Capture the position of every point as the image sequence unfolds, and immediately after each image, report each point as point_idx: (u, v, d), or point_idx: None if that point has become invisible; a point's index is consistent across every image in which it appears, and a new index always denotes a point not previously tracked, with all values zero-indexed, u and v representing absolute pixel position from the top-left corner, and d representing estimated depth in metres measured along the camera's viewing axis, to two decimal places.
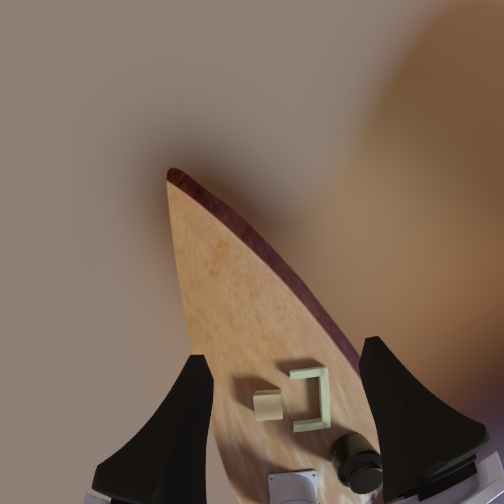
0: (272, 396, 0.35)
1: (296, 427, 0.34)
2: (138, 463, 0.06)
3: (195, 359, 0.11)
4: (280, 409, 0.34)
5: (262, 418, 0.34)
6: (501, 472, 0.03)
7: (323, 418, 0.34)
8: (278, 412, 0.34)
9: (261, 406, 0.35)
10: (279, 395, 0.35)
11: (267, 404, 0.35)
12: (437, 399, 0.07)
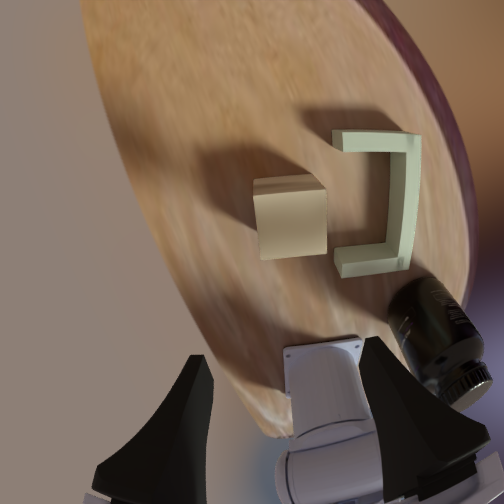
0: (303, 196, 0.15)
1: (348, 267, 0.18)
2: (138, 463, 0.06)
3: (195, 359, 0.11)
4: (322, 229, 0.15)
5: (278, 253, 0.16)
6: (501, 472, 0.03)
7: (400, 249, 0.18)
8: (317, 237, 0.16)
9: (275, 224, 0.15)
10: (322, 193, 0.14)
11: (290, 218, 0.15)
12: (437, 399, 0.07)
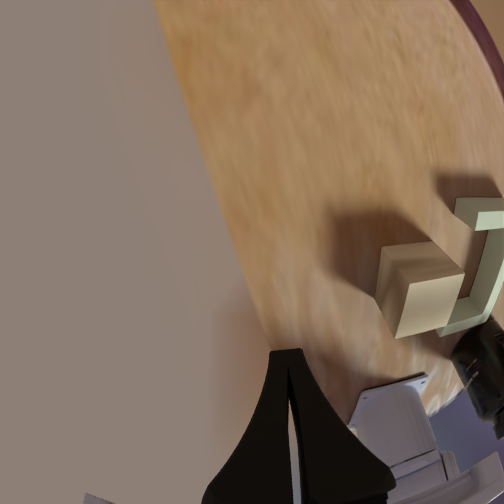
0: (448, 280, 0.12)
1: (447, 328, 0.16)
2: (258, 474, 0.05)
3: (279, 355, 0.11)
4: (450, 307, 0.13)
5: (411, 331, 0.14)
6: (501, 472, 0.03)
7: (486, 307, 0.15)
8: (445, 314, 0.13)
9: (419, 307, 0.13)
10: (461, 276, 0.12)
11: (431, 301, 0.12)
12: (342, 426, 0.07)
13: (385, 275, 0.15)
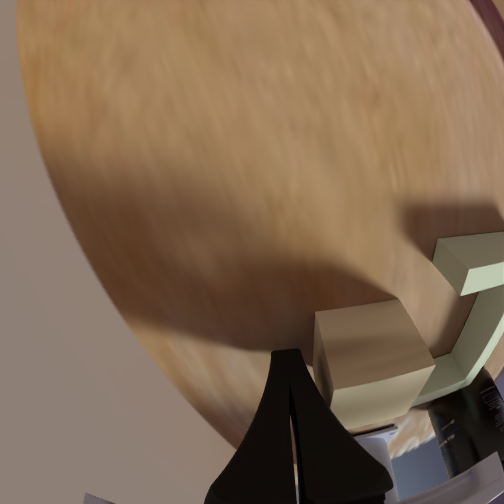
0: (405, 378, 0.08)
1: None
2: (260, 474, 0.05)
3: (281, 355, 0.11)
4: (411, 399, 0.09)
5: (348, 426, 0.10)
6: (501, 472, 0.03)
7: (470, 373, 0.11)
8: (402, 406, 0.09)
9: (356, 407, 0.09)
10: (429, 369, 0.08)
11: (377, 400, 0.08)
12: (339, 426, 0.07)
13: (318, 352, 0.11)
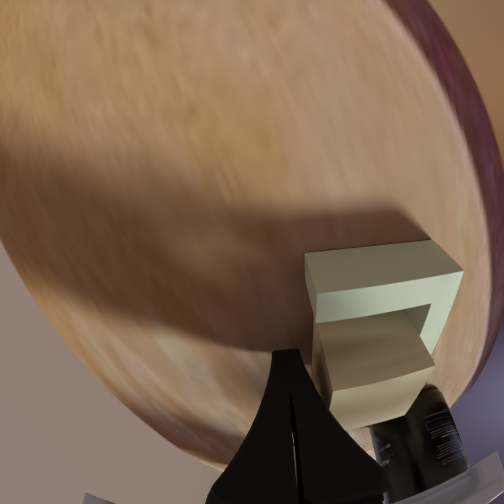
0: (404, 379, 0.08)
1: None
2: (262, 473, 0.05)
3: (282, 355, 0.11)
4: (410, 400, 0.09)
5: (347, 427, 0.09)
6: (501, 472, 0.03)
7: None
8: (401, 407, 0.09)
9: (355, 408, 0.09)
10: (428, 370, 0.08)
11: (376, 401, 0.08)
12: (338, 427, 0.07)
13: (317, 352, 0.11)
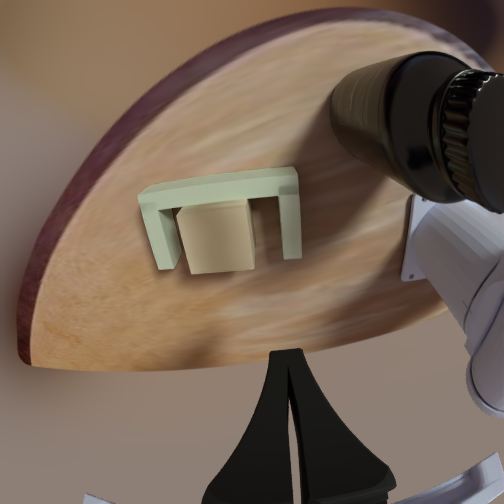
0: (185, 235, 0.16)
1: (289, 253, 0.18)
2: (258, 473, 0.05)
3: (279, 355, 0.11)
4: (217, 214, 0.15)
5: (246, 254, 0.16)
6: (501, 472, 0.03)
7: (268, 194, 0.16)
8: (226, 219, 0.15)
9: (215, 257, 0.16)
10: (180, 219, 0.15)
11: (208, 245, 0.16)
12: (342, 426, 0.07)
13: None
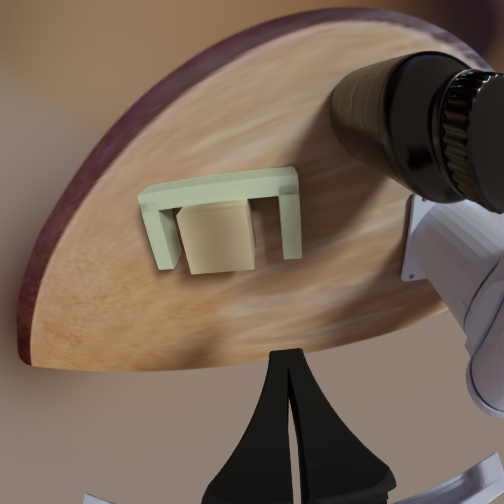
0: (185, 235, 0.16)
1: (289, 253, 0.18)
2: (257, 474, 0.05)
3: (279, 355, 0.11)
4: (217, 214, 0.15)
5: (246, 254, 0.16)
6: (501, 472, 0.03)
7: (268, 194, 0.16)
8: (226, 219, 0.15)
9: (215, 257, 0.16)
10: (180, 219, 0.15)
11: (208, 245, 0.16)
12: (342, 426, 0.07)
13: None
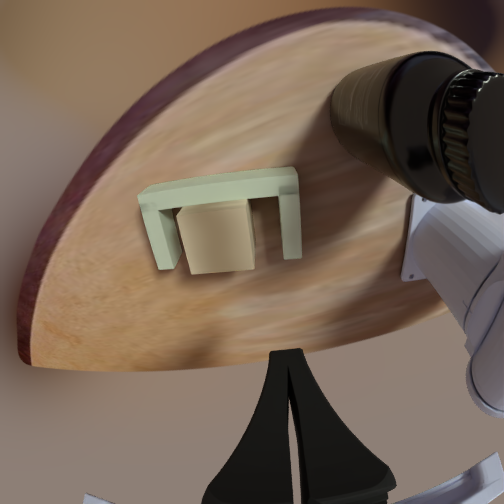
0: (185, 235, 0.16)
1: (289, 253, 0.18)
2: (257, 474, 0.05)
3: (279, 355, 0.11)
4: (218, 214, 0.15)
5: (246, 254, 0.16)
6: (501, 472, 0.03)
7: (268, 194, 0.16)
8: (226, 219, 0.15)
9: (215, 257, 0.16)
10: (180, 219, 0.15)
11: (208, 245, 0.16)
12: (342, 426, 0.07)
13: None
